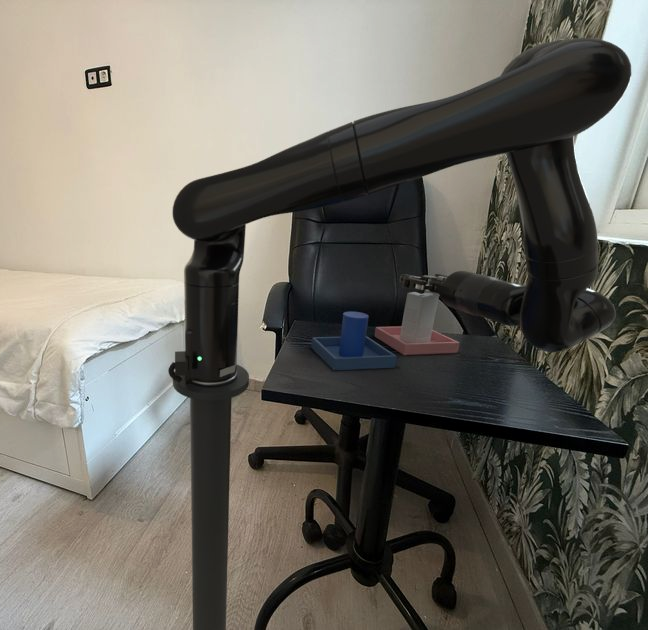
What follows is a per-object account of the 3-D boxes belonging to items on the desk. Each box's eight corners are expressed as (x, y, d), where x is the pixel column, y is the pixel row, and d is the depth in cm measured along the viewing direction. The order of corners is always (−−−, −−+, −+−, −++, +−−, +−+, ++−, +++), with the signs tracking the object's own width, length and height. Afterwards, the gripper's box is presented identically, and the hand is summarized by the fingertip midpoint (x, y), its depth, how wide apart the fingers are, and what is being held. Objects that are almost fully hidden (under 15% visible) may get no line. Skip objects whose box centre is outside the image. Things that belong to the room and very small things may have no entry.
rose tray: (403, 355, 78) (405, 344, 78) (374, 336, 90) (375, 327, 89) (457, 352, 80) (459, 342, 80) (421, 334, 92) (423, 325, 91)
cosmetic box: (413, 337, 88) (422, 289, 85) (431, 343, 84) (440, 293, 81) (397, 341, 85) (405, 292, 82) (415, 347, 82) (424, 296, 78)
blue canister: (345, 360, 74) (350, 318, 71) (334, 350, 79) (339, 311, 76) (367, 359, 75) (373, 317, 72) (356, 350, 79) (361, 311, 77)
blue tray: (333, 370, 70) (334, 358, 69) (311, 347, 82) (311, 337, 81) (395, 367, 72) (397, 356, 71) (364, 345, 83) (366, 335, 83)
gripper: (512, 274, 67) (449, 262, 83) (444, 274, 65) (392, 261, 81) (502, 312, 69) (443, 293, 85) (436, 313, 67) (387, 294, 83)
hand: (418, 278), depth 83 cm, fingers open, 8 cm apart
